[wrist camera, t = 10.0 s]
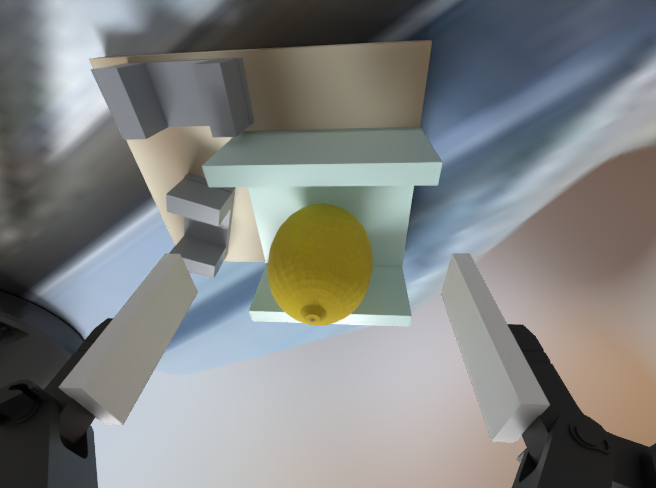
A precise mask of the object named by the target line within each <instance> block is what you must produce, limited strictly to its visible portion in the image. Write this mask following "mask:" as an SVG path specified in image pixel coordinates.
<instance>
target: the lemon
mask: <svg viewBox="0 0 656 488" xmlns="http://www.w3.org/2000/svg"><path fill="white" fill-rule="evenodd" d="M372 269H373V256H372V247H371V242H370V240H369V237H368V235H367V233H366V231H365V229H364V227H363V225H362V224H361V223H360V222H359V221H358V219H357V218H356V217H355V216H354V215H352V214H351V213H350V212H348V211H347V210H345V209H343V208H340V207H338V206H335V205H330V204H313V205H310V206H306V207H303V208H301V209H300V210H298V211H296V212H295V213H293V214H291V215H290V216H289V217H288V218H287V220H286V221H285V222H284V223H283V224H282V225H281V226H280V228H279V229H278V231H277V233H276V235H275V237H274V240H273V242H272V244H271V247H270V252H269V260H268V281H269V285H270V289H271V293H272V295H273V297H274V299H275V301H276V302H277V304H278V305H279V306H280V308H281V309H282V310H283V311H284V312H285V313H286V314H288V315H289V316H290V317H292V318H294V319H295V320H297V321H300V322H302V323H305V324H310V325H328V324H332V323H335V322H338V321H340V320H342V319H344V318H346V317H347V316H349V315H350V314H351V313H352V312H353V311H355V310H356V309H357V307H358V306H359V305H360V303H361V302H362V300H363V298H364V297H365V295H366V293H367V290H368V287H369V283H370V279H371V275H372Z"/></svg>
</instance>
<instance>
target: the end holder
mask: <svg viewBox="0 0 656 488" xmlns="http://www.w3.org/2000/svg"><path fill="white" fill-rule="evenodd" d="M441 167H442V161H441V159H440V157H439V156H438V154H437V153H436V151H435V150H434V148H433V146H432V145H431V143H430V142H429V140H428V138H427V137H426V135H425V134H424V132H423V130H422V129H421V127H389V128H351V129H314V130H276V131H243V132H241V133H240V134H239V135H238V136H237V137H233V138H232V139H230V140H229V141H228V142H227V143H226V144H225V145H224V146H223V147H222V148H221V149H220V150H219V151H217V152H216V153H215V154H214V155H213V156H212V157H211V158H210V159H209V160H208V161H207V162H206V163H204V164H203V165H202V168H203V172H204V175H205V178H206V181H207V184H208V187H248V189H249V194H250V198H251V202H252V206H253V211H254V215H255V219H256V223H257V228H258V232H259V236H260V240H261V245H262V249H263V253H264V257H265V262H266V267H265V269H264V272H263V275H262V277H261V280H260V283H259V285H258V288H257V291H256V293H255V296H254V299H253V302H252V304H251V307H250V310H249V313H250V316H251V319H252V321H263V322H293V323H302V322H300V321H297V320H295V319H294V318H292V317H290V316H289V315H288V314H286V313H285V312H284V311H283V310H282V309H281V308H280V306H279V305H278V304H277V302H276V301H275V299H274V297H273V295H272V293H271V289H270V285H269V281H268V260H269V252H270V247H271V244H272V242H273V240H274V237H275V235H276V233H277V231H278V229H279V228H280V226H281V225H282V224H283V223H284V222H285V221H286V220H287V218H288V217H289V216H290V215H291V214H293V213H295V212H296V211H298V210H300V209H301V208H303V207H306V206H310V205H313V204H330V205H335V206H338V207H340V208H343V209H345V210H347V211H348V212H350V213H351V214H352V215H354V216H355V217H356V218H357V219H358V221H359V222H360V223H361V224H362V225H363V227H364V229H365V231H366V233H367V235H368V237H369V240H370V242H371V247H372V256H373V269H372V275H371V279H370V283H369V287H368V290H367V293H366V295H365V297H364V298H363V300H362V302H361V303H360V305H359V306H358V307H357V309H356V310H355V311H353V312H352V313H351V314H350V315H349V316H347V317H346V318H344V319H342V320H340V321H338V322H335V323H332V324H352V325H384V326H410V321H411V310H410V305H409V300H408V295H407V290H406V284H405V279H404V274H403V269H402V264H403V257H404V250H405V244H406V237H407V230H408V223H409V216H410V209H411V203H412V196H413V189H414V186H421V185H438V182H439V177H440V172H441Z"/></svg>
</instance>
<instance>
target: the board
mask: <svg viewBox="0 0 656 488" xmlns="http://www.w3.org/2000/svg"><path fill="white" fill-rule="evenodd" d="M431 46H432V41H430V40H415V41H396V42H377V43H358V44H339V45H320V46H301V47H282V48H263V49H244V50H225V51H206V52H187V53H168V54H149V55H130V56H111V57H100V58H92V59H89V61H90V63H91V65H92V67H93V69H96V68H102V67H108V66H114V65H120V64H124V63H135V62H155V61H175V60H195V59H215V58H235V57H242V59H243V64H244V69H245V74H246V79H247V85H248V90H249V95H250V100H251V106H252V111H253V116H254V121H255V122H254V123H253V124H252V125H249V126H248V127H247V128H246V129H245V130H244V131H276V130H314V129H351V128H389V127H420V124H421V117H422V110H423V103H424V95H425V88H426V81H427V74H428V67H429V60H430V53H431ZM232 138H233V137H214V138H213V137H212V133H211V130H210V126H188V127H168V128H166V129H164V130H162V131H160V132H159V133H157V134H155V135H153V136H151V137H149V138H148V139H133V140H127V143H128V145H129V147H130V149H131V151H132V153H133V155H134V158H135V160H136V162H137V164H138V166H139V168H140V171H141V173H142V175H143V177H144V179H145V181H146V183H147V186H148V188H149V190H150V192H151V194H152V196H153V198H154V201H155V203H156V205H157V207H158V209H159V211H160V214H161V216H162V218H163V220H164V222H165V224H166V226H167V229H168V231H169V233H170V235H171V237H172V239H173V241H174V244H175V246H176V245H177V243H178V242H179V241H180V240H181V238H182V237H183V236H184V217H183V216H180V215H176V214H173V213H170V212H167V205H166V194H167V193H168V192H169V191H170V190H171V189H172V188H173V187H175V186H176V185H177V184H178V183H179V182H180V181H181V180H182V179H183V178H184V176H185V175H186V174H187V173H191V174H194V175H197V176H201V177H204V178H205V175H204V172H203V168H202V165H203V164H204V163H206V162H207V161H208V160H209V159H210V158H211V157H212V156H213V155H214V154H215V153H216V152H217V151H219V150H220V149H221V148H222V147H223V146H224V145H225V144H226V143H227V142H228V141H229V140H230V139H232ZM224 261H241V262H265V257H264V253H263V249H262V245H261V240H260V236H259V232H258V228H257V223H256V219H255V215H254V211H253V206H252V202H251V198H250V194H249V189H248V187H236V188H235V197H234V205H233V213H232V221H231V230H230V238H229V246H228V255H227V256H226V258H225V260H224Z"/></svg>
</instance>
